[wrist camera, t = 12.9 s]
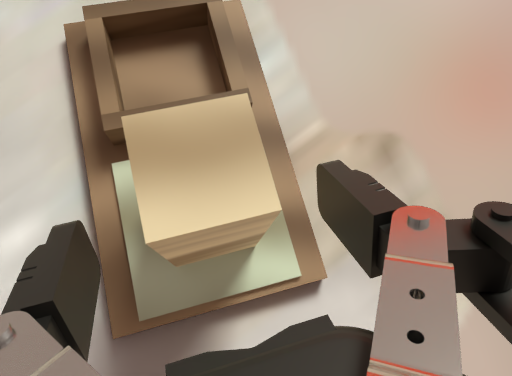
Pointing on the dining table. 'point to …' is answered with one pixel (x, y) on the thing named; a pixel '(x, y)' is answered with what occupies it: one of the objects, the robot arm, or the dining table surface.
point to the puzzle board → (165, 96)
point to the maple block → (201, 178)
